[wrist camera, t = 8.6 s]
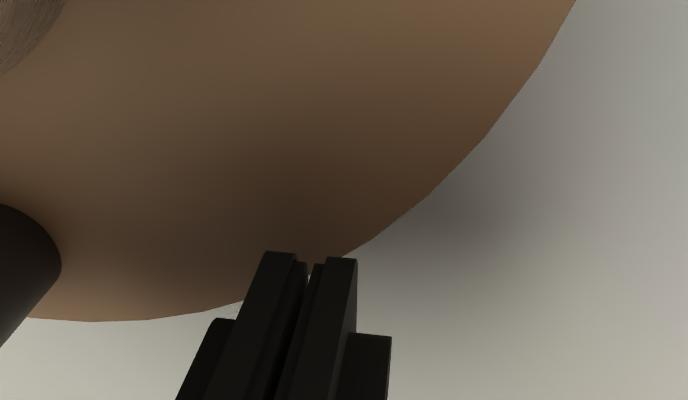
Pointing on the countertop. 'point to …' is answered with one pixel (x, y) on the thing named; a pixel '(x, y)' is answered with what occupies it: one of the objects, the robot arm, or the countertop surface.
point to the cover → (24, 27)
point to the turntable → (235, 139)
